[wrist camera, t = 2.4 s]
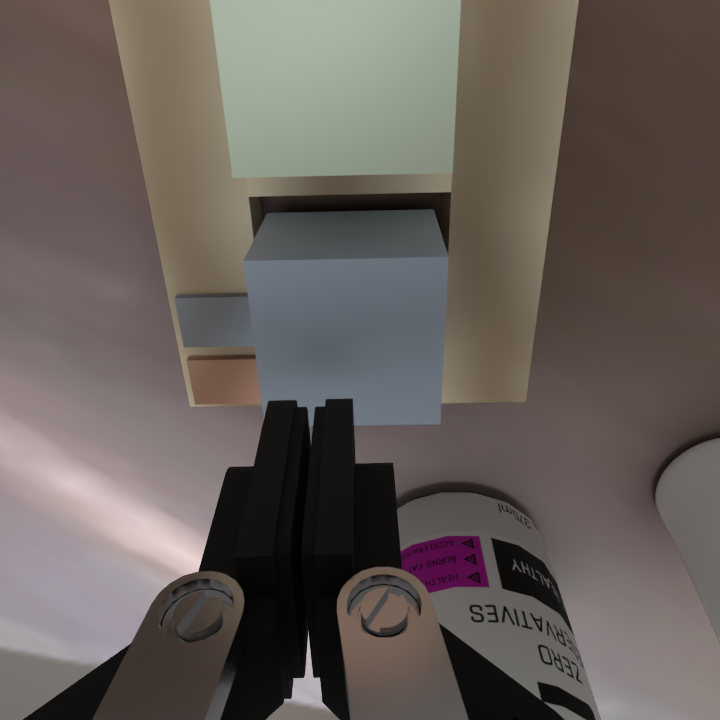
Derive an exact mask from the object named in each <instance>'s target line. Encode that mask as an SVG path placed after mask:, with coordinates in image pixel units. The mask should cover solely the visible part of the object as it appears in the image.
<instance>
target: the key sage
mask: <svg viewBox="0 0 720 720" xmlns="http://www.w3.org/2000/svg"><path fill="white" fill-rule="evenodd" d="M210 7H211V14H212V22H213V30H214V38H215V45H216V53H217V61H218V69H219V76H220V84H221V92H222V100H223V107H224V115H225V123H226V131H227V138H228V146H229V154H230V162H231V169H232V177H233V178H257V177H299V176H342V175H384V174H426V173H453V156H454V136H455V115H456V94H457V74H458V53H459V33H460V12H461V0H210Z"/></svg>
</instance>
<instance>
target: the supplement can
mask: <svg viewBox="0 0 720 720" xmlns="http://www.w3.org/2000/svg"><path fill="white" fill-rule="evenodd" d="M397 515H398V527H399V538H400V550H401V562H402V570H404V571H406V572H408V573H410V574H412V575H413V576H415V577H416V578H417V579H418V580H419V581H420V582H421V583H422V584H423V585H424V586H425V587H426V589H427V591H428V593H429V595H430V597H431V600H432V603H433V607H434V610H435V613H436V616H437V619H438V622H439V623H440V624H441V625H443V626H444V627H445V628H447V629H448V630H449V631H450V632H452V633H453V634H454V635H456V636H457V637H458V638H460V639H461V640H462V641H464V642H465V643H466V644H468V645H469V646H470V647H472V648H473V649H474V650H476V651H477V652H478V653H480V654H481V655H482V656H484V657H485V658H486V659H487V660H489V661H490V662H491V663H493V664H494V665H495V666H497V667H498V668H499V669H501V670H502V671H503V672H505V673H506V674H507V675H509V676H510V677H511V678H513V679H514V680H515V681H517V682H518V683H519V684H521V685H522V686H523V687H525V688H526V689H527V690H528V691H530V692H531V693H532V694H534V695H535V696H536V697H538V698H539V699H540V700H542V701H543V702H544V703H546V704H547V705H548V706H550V707H551V708H552V709H554V710H555V711H556V712H557V713H558V714H559V715H560V716H561V717H562V718H563V719H564V720H601V718H600V715H599V712H598V708H597V705H596V702H595V699H594V696H593V693H592V690H591V687H590V684H589V681H588V678H587V675H586V671H585V668H584V665H583V662H582V659H581V656H580V653H579V650H578V647H577V644H576V641H575V638H574V634H573V631H572V628H571V625H570V622H569V619H568V616H567V613H566V610H565V607H564V604H563V601H562V598H561V594H560V591H559V588H558V585H557V582H556V579H555V576H554V573H553V570H552V567H551V564H550V561H549V557H548V554H547V551H546V548H545V545H544V542H543V539H542V538H541V536H540V534H539V533H538V531H537V529H536V528H535V526H534V524H533V523H532V521H531V519H530V518H528V517H527V516H526V515H524V514H523V513H521V512H520V511H518V510H517V509H516V508H514V507H513V506H511V505H510V504H508V503H507V502H504V501H500V500H497V499H493V498H490V497H486V496H483V495H479V494H476V493H470V492H441V493H437V494H433V495H430V496H426V497H422V498H418V499H414V500H413V501H411V502H408V503H406V504H405V505H403V506H401V507H400V508H398V509H397Z"/></svg>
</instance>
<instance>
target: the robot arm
mask: <svg viewBox="0 0 720 720" xmlns="http://www.w3.org/2000/svg"><path fill="white" fill-rule="evenodd" d="M308 631H309V640H310V649H311V659H312V668H313V677H314V678H317V677H320V681H321V691H322V701H323V703H324V704H325V705H326V706H327V707H328V708H329V709H330V710H331V711H332V712H333V713H334V714H335V715H336V716H337V717H338V718H339V719H340V720H564V719H563V718H562V717H561V716H560V715H559V714H558V713H557V712H556V711H555V710H554V709H552V708H551V707H550V706H548V705H547V704H546V703H544V702H543V701H542V700H540V699H539V698H538V697H536V696H535V695H534V694H532V693H531V692H530V691H528V690H527V689H526V688H525V687H523V686H522V685H521V684H519V683H518V682H517V681H515V680H514V679H513V678H511V677H510V676H509V675H507V674H506V673H505V672H503V671H502V670H501V669H499V668H498V667H497V666H495V665H494V664H493V663H491V662H490V661H489V660H487V659H486V658H485V657H484V656H482V655H481V654H480V653H478V652H477V651H476V650H474V649H473V648H472V647H470V646H469V645H468V644H466V643H465V642H464V641H462V640H461V639H460V638H458V637H457V636H456V635H454V634H453V633H452V632H450V631H449V630H448V629H447V628H445V627H444V626H443V625H441V624H440V623H439V622H438V619H437V616H436V613H435V610H434V607H433V603H432V600H431V597H430V595H429V593H428V591H427V589H426V587H425V586H424V585H423V584H422V583H421V582H420V581H419V580H418V579H417V578H416V577H415V576H413V575H412V574H410V573H408V572H406V571H404V570H402V562H401V550H400V538H399V527H398V515H397V503H396V491H395V479H394V468H393V463H366V464H355V439H354V413H353V398H348V399H326V401H325V406H319V407H315V412H314V422H313V432H312V443H310V431H309V419H308V409H307V407H298V405H297V401H296V400H273V401H268V404H267V408H266V413H265V417H264V422H263V426H262V431H261V436H260V440H259V445H258V449H257V454H256V458H255V463H254V466H250V467H229V468H228V469H227V472H226V474H225V478H224V481H223V485H222V489H221V492H220V496H219V499H218V503H217V507H216V510H215V514H214V518H213V521H212V525H211V528H210V532H209V536H208V539H207V543H206V546H205V550H204V554H203V557H202V561H201V565H200V568H199V572H195V573H192V574H188V575H185V576H183V577H181V578H179V579H177V580H175V581H173V582H171V583H170V584H169V585H168V586H167V587H166V588H164V589H163V590H162V591H161V592H160V593H159V594H158V596H157V597H156V599H155V600H154V601H153V603H152V604H151V606H150V608H149V610H148V612H147V614H146V616H145V618H144V620H143V622H142V624H141V626H140V628H139V630H138V631H137V633H136V635H135V637H134V639H133V641H132V643H131V644H130V645H128V646H127V647H125V648H124V649H123V650H121V651H120V652H118V653H117V654H116V655H114V656H113V657H111V658H110V659H108V660H107V661H106V662H104V663H103V664H101V665H100V666H98V667H97V668H96V669H94V670H93V671H91V672H90V673H89V674H87V675H86V676H85V677H83V678H81V679H80V680H79V681H77V682H76V683H75V684H73V685H71V686H70V687H69V688H67V689H66V690H64V691H63V692H62V693H60V694H59V695H57V696H56V697H54V698H53V699H52V700H50V701H49V702H48V703H46V704H45V705H43V706H42V707H40V708H39V709H37V710H36V711H35V712H33V713H32V714H30V715H29V716H27V717H26V718H25V719H23V720H266V719H267V718H268V717H269V716H270V715H271V714H272V713H273V712H274V711H275V710H276V709H278V708H279V707H280V706H281V705H282V704H283V703H284V699H291V698H292V687H293V678H304V676H305V667H306V653H307V640H308Z"/></svg>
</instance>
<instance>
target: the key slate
mask: <svg viewBox="0 0 720 720" xmlns="http://www.w3.org/2000/svg"><path fill="white" fill-rule="evenodd" d="M448 259H449V257H448V253H447V250H446V247H445V244H444V241H443V238H442V234H441V231H440V228H439V225H438V222H437V218H436V215H435V212H434V209H424V210H379V211H334V212H289V213H267V214H266V216H265V218H264V220H263V222H262V224H261V226H260V228H259V230H258V232H257V234H256V236H255V238H254V240H253V242H252V245H251V247H250V249H249V251H248V253H247V255H246V257H245V259H244V261H243V262H244V270H245V278H246V286H247V293H248V301H249V309H250V317H251V324H252V332H253V340H254V348H255V355H256V363H257V371H258V379H259V386H260V394H261V402H262V410H263V417H265V413H266V408H267V404H268V401H273V400H296V401H297V405H298V407H307V409H308V419H309V426H313V422H314V412H315V407H319V406H325V401H326V399H348V398H353V413H354V426H364V425H439V424H440V423H441V403H442V382H443V362H444V341H445V321H446V300H447V279H448Z"/></svg>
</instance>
